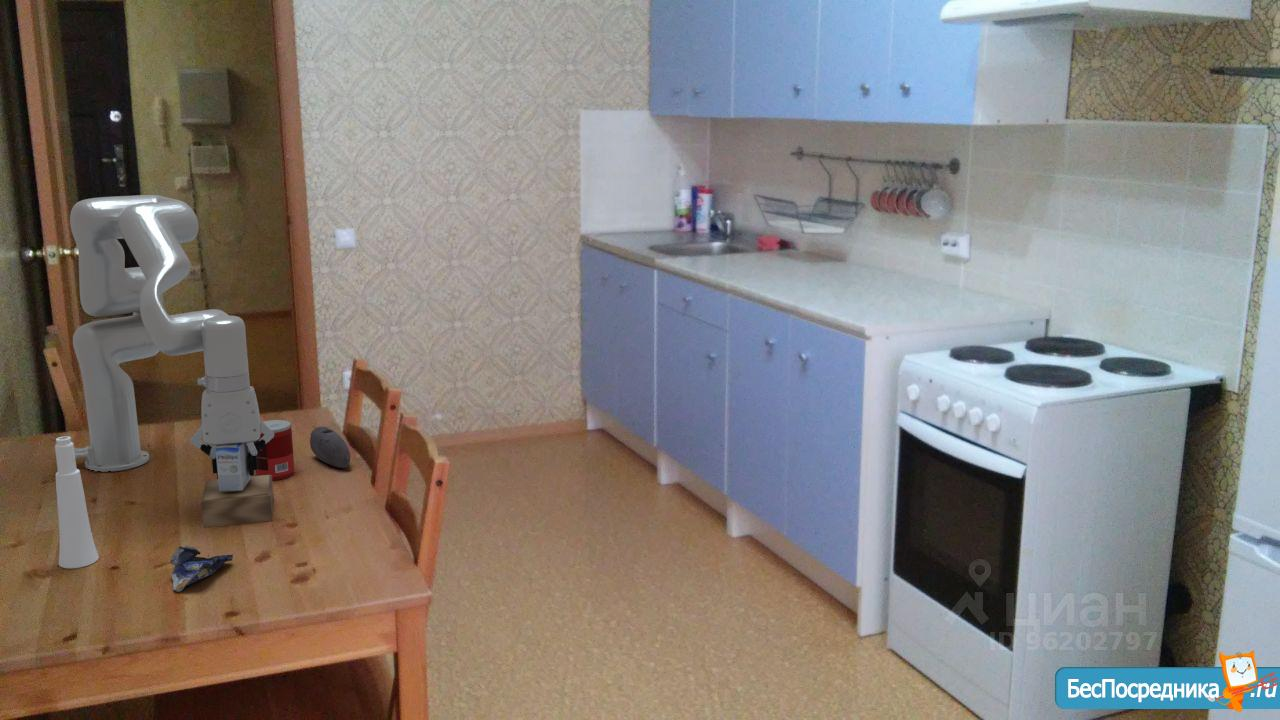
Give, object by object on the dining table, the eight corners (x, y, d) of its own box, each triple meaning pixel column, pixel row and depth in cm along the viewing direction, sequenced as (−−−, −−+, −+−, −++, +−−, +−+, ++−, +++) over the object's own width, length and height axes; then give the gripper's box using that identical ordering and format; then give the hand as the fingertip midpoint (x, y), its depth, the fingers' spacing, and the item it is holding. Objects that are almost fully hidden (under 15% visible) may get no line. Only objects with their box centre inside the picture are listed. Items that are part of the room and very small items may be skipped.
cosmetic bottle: (71, 571, 177) (55, 445, 172) (51, 563, 180) (34, 439, 175) (106, 559, 182) (91, 436, 177) (85, 551, 185) (70, 430, 180)
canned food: (300, 469, 227) (296, 420, 225) (284, 481, 220) (280, 431, 217) (266, 468, 228) (262, 419, 226) (249, 480, 220) (245, 430, 218)
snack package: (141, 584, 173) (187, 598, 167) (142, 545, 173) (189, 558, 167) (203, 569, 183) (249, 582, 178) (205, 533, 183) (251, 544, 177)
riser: (203, 527, 195) (201, 501, 194) (208, 505, 207) (206, 479, 205) (272, 520, 199) (270, 494, 198) (273, 498, 210) (271, 473, 209)
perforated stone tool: (358, 470, 227) (356, 439, 225) (335, 475, 224) (333, 444, 222) (331, 453, 239) (329, 423, 237) (309, 457, 236) (306, 427, 234)
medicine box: (230, 477, 205) (226, 434, 203) (254, 476, 206) (250, 434, 203) (218, 492, 197) (214, 447, 195) (243, 491, 198) (239, 446, 196)
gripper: (176, 390, 191) (185, 486, 195) (276, 384, 196) (283, 477, 200) (180, 380, 198) (189, 473, 202) (276, 374, 203) (283, 464, 207)
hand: (235, 474), depth 201 cm, fingers closed on medicine box, 5 cm apart
